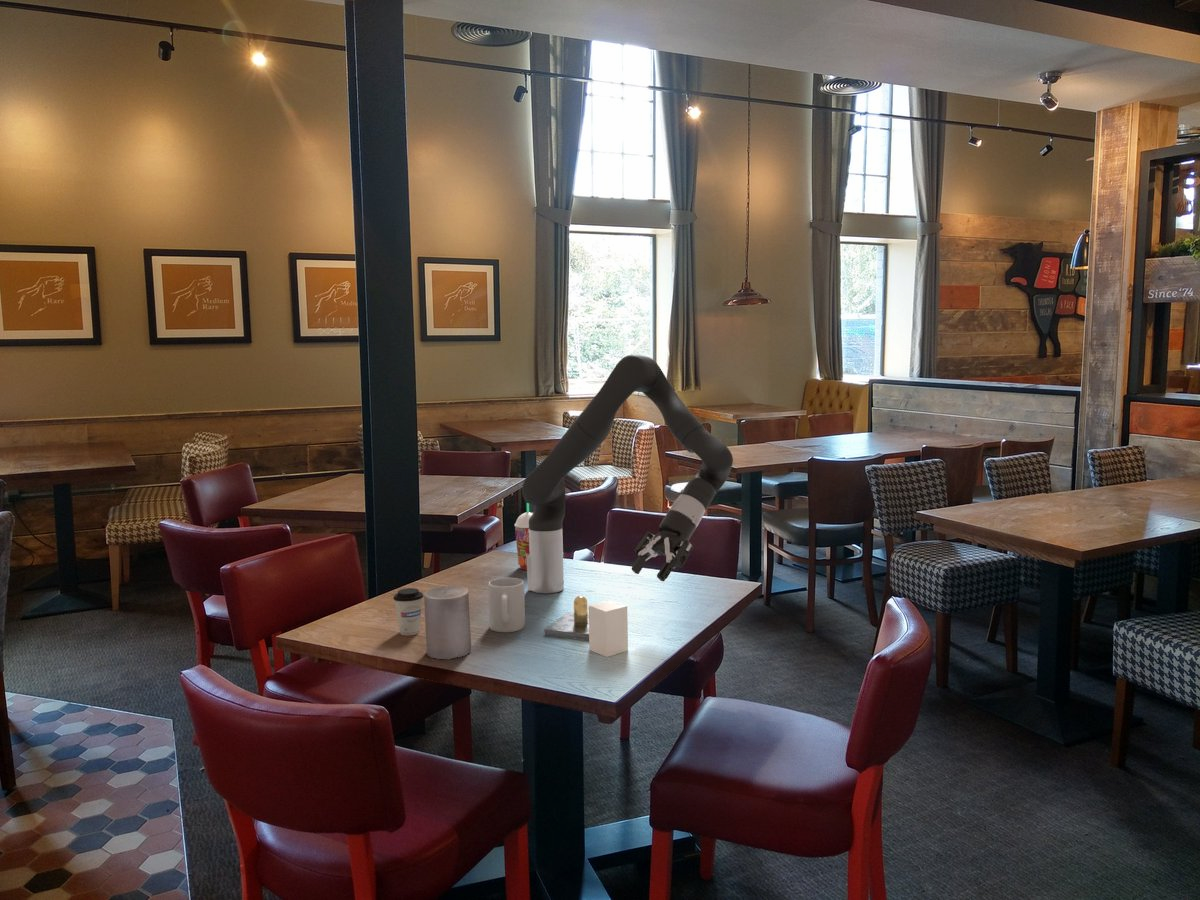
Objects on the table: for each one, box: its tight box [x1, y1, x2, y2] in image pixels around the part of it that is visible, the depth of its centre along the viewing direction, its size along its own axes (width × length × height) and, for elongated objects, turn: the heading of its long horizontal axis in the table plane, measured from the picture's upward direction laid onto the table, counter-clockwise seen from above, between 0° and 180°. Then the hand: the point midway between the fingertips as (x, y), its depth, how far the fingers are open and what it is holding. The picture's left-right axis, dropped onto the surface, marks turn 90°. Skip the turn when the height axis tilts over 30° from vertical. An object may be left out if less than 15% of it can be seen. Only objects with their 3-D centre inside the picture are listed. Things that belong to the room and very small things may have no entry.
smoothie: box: [514, 502, 534, 571], centre depth 255 cm, size 8×8×20 cm
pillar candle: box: [423, 585, 472, 660], centre depth 184 cm, size 10×10×15 cm
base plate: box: [543, 595, 589, 641], centre depth 197 cm, size 13×13×8 cm
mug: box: [487, 577, 526, 633], centre depth 199 cm, size 12×8×11 cm
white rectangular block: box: [588, 599, 629, 658], centre depth 183 cm, size 6×6×10 cm
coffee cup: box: [393, 587, 424, 636], centre depth 198 cm, size 7×7×10 cm
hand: (647, 575), depth 189 cm, fingers open, 8 cm apart
